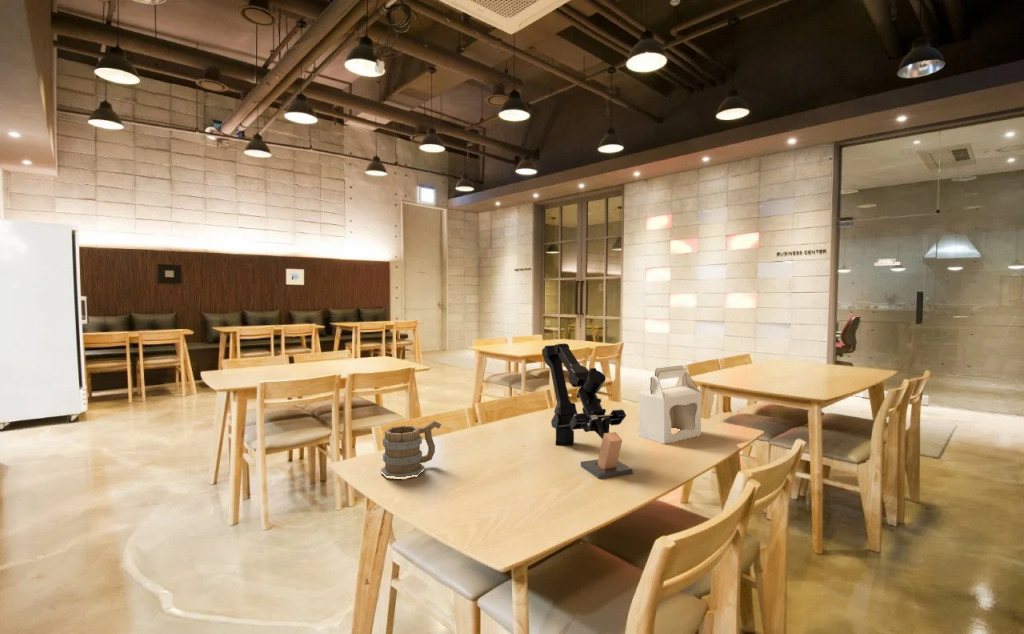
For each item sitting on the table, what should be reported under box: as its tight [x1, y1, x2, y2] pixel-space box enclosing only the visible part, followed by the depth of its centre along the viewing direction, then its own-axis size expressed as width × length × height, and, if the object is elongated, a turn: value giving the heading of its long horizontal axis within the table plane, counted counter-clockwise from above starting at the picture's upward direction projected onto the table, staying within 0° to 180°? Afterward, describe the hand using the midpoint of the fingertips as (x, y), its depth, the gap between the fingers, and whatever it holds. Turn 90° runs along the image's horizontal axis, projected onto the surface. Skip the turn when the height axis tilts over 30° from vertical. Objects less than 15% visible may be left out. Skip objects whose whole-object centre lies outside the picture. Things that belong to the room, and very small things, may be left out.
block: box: [597, 431, 623, 469], centre depth 152 cm, size 4×4×12 cm
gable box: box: [638, 365, 702, 445], centre depth 192 cm, size 22×13×28 cm, turn 122°
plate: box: [580, 458, 633, 480], centre depth 154 cm, size 12×12×2 cm
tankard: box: [380, 420, 442, 477], centre depth 155 cm, size 20×13×15 cm, turn 123°
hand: (607, 442), depth 153 cm, fingers closed
